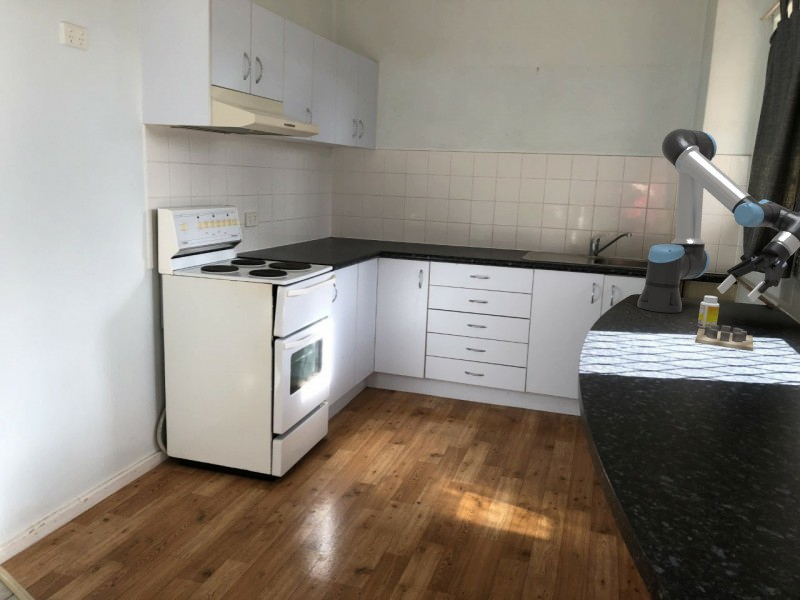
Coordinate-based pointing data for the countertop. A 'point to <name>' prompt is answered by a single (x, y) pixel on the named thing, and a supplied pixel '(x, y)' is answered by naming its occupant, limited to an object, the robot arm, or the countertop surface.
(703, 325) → the supplement bottle
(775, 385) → the countertop surface
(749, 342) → the collar plate
